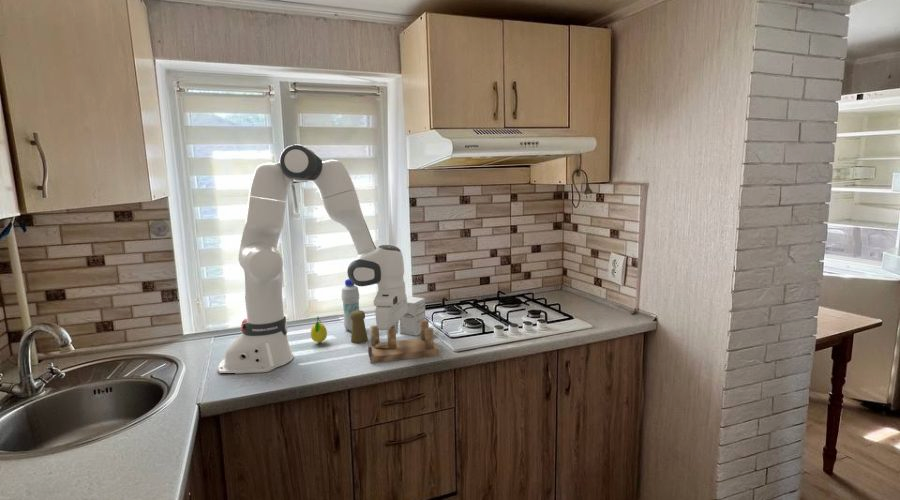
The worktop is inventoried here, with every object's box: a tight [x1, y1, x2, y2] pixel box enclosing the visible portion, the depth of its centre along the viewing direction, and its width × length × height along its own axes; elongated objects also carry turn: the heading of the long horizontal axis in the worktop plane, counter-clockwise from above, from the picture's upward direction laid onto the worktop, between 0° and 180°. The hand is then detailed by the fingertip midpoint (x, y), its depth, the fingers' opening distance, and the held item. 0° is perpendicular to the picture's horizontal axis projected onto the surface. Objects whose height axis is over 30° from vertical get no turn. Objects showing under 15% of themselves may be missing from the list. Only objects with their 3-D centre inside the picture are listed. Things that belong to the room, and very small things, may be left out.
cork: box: [350, 309, 369, 345], centre depth 169 cm, size 6×6×11 cm
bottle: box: [341, 278, 360, 333], centre depth 181 cm, size 7×7×20 cm
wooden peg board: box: [367, 319, 439, 364], centre depth 157 cm, size 22×12×8 cm, turn 103°
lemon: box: [310, 315, 328, 344], centre depth 168 cm, size 7×6×10 cm
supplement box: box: [399, 296, 427, 337], centre depth 176 cm, size 7×7×13 cm
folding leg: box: [374, 327, 397, 349], centre depth 156 cm, size 8×3×6 cm, turn 82°
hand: (394, 334), depth 158 cm, fingers closed
